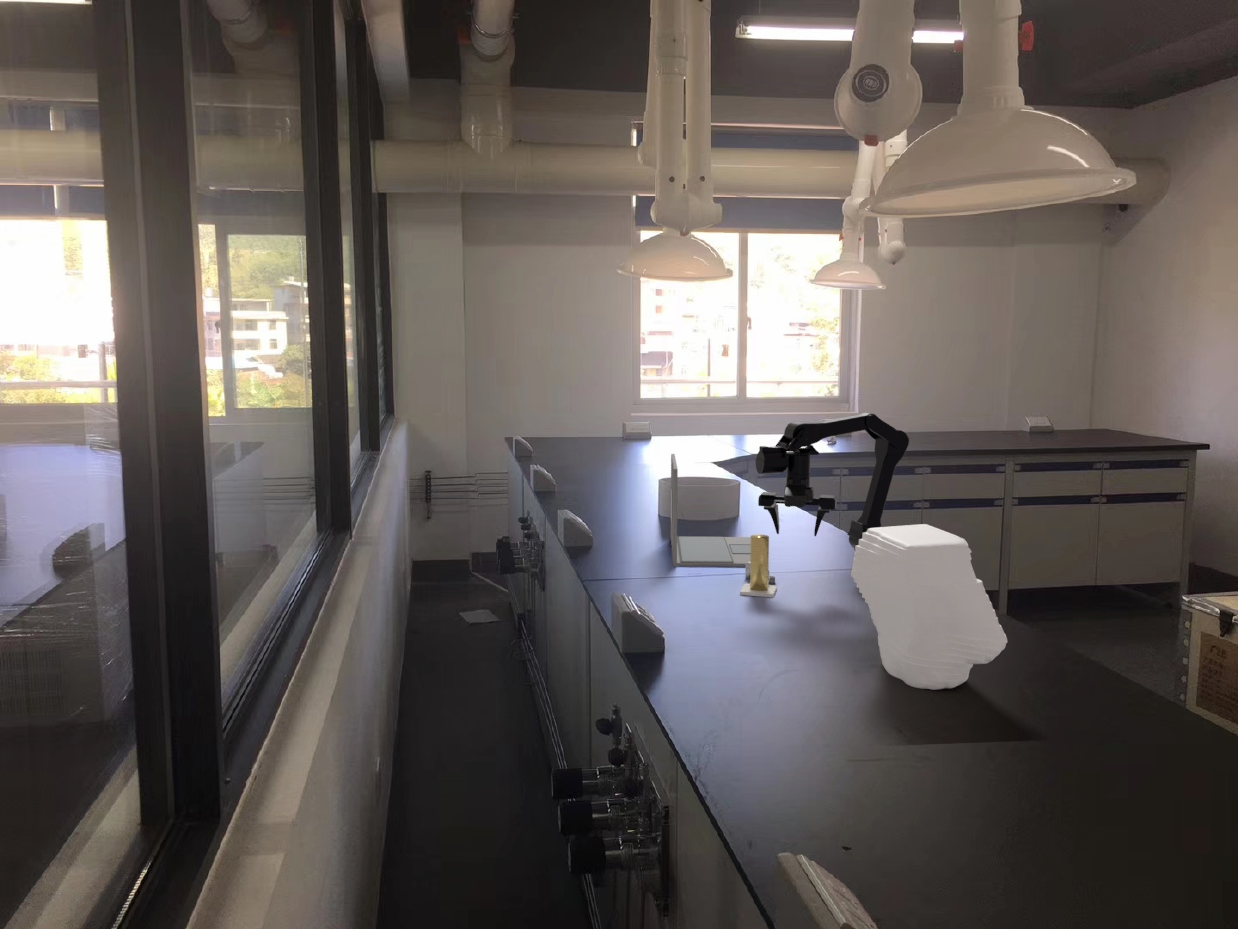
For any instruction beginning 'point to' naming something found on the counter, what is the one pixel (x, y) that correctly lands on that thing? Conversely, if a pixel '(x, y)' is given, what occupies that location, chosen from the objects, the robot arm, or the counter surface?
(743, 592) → the tile
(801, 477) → the robot arm
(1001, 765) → the counter surface
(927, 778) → the counter surface
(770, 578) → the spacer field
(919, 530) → the paper stack
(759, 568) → the brass tube
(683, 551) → the laptop
